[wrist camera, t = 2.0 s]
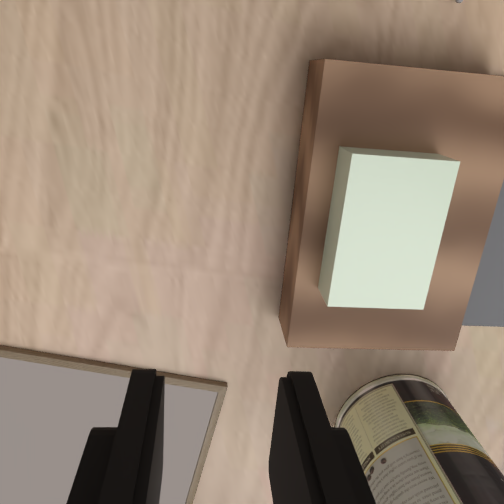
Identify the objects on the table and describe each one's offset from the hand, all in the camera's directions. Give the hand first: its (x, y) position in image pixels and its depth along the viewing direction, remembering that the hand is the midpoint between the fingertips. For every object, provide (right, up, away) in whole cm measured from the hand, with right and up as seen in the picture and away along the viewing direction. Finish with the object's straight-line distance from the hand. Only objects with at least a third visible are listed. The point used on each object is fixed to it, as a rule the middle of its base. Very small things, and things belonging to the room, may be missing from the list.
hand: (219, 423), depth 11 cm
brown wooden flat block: (+10, +7, +21) cm, 24 cm away
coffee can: (+13, -11, +29) cm, 33 cm away
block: (+8, +6, +17) cm, 20 cm away
